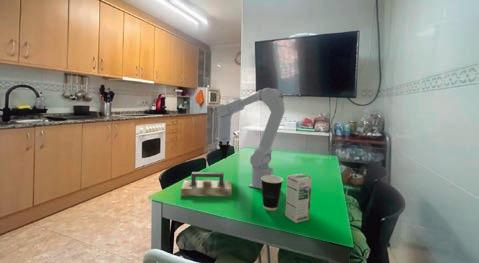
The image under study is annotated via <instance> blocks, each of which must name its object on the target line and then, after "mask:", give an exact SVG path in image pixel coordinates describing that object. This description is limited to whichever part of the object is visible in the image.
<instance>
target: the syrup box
mask: <svg viewBox="0 0 479 263" xmlns="http://www.w3.org/2000/svg"><path fill="white" fill-rule="evenodd" d="M312 183H313V178H312V177H311V176H309V175H306V174H304V173H297V174H288V175H287V177H286V193H285V195H286V198H285V217H287V219H289V220H291V221H292V222H293V223H294V224H295V223H296V224H297V223H301V222H305V221H309V220H310V217H311V216H310V214H311V213H310V212H311V198H312Z"/></svg>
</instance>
